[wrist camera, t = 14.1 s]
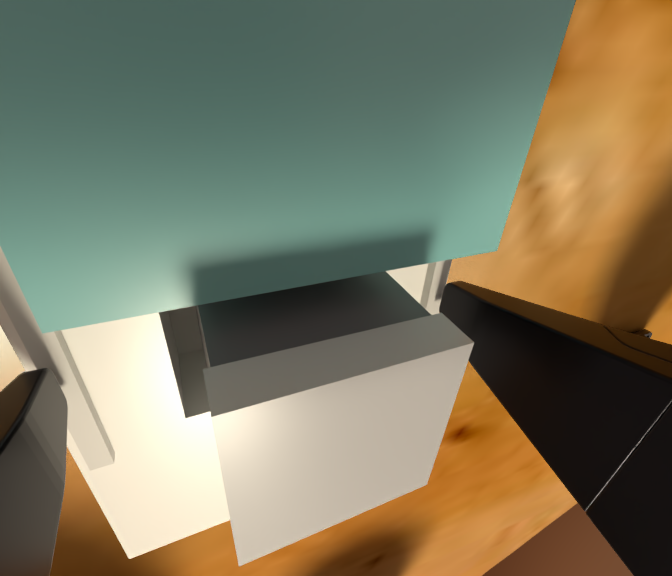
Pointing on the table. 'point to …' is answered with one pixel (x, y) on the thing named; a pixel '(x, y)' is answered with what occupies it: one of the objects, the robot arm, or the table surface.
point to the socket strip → (147, 409)
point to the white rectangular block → (325, 402)
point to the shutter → (257, 142)
